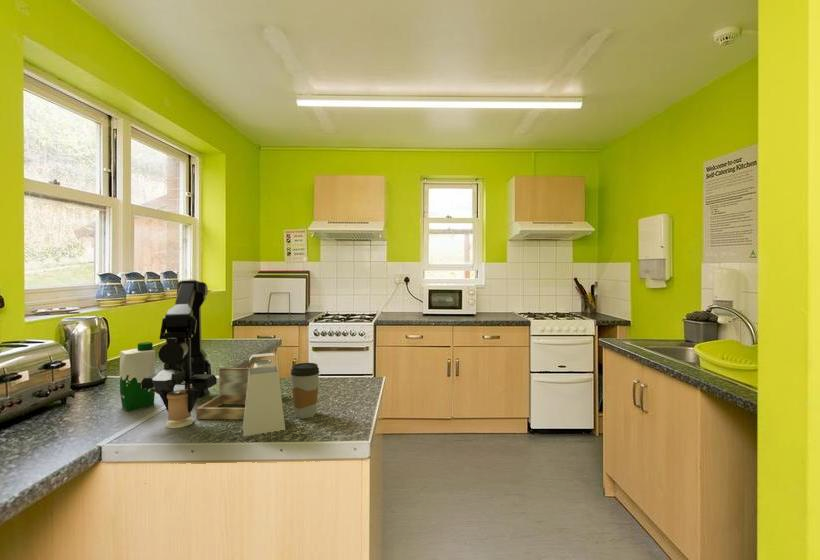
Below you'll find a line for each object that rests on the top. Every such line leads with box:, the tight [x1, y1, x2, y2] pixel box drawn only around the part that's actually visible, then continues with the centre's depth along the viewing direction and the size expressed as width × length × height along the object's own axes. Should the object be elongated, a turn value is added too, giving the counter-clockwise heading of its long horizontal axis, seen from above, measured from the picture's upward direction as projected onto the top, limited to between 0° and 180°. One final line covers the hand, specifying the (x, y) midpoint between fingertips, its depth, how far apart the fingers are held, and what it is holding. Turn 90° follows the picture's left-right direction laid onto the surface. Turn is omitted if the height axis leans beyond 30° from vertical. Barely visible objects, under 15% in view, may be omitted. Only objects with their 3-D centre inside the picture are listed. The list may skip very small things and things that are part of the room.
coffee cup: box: [290, 362, 320, 420], centre depth 118 cm, size 8×8×15 cm
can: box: [253, 359, 274, 368], centre depth 137 cm, size 6×6×12 cm
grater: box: [242, 352, 286, 437], centre depth 110 cm, size 10×10×20 cm
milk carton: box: [119, 341, 156, 412], centre depth 126 cm, size 9×9×20 cm
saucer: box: [164, 416, 195, 429], centre depth 112 cm, size 7×7×1 cm
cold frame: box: [196, 367, 251, 420], centre depth 122 cm, size 16×14×12 cm
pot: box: [167, 388, 192, 421], centre depth 112 cm, size 6×6×7 cm
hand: (179, 411), depth 112 cm, fingers closed on pot, 6 cm apart
